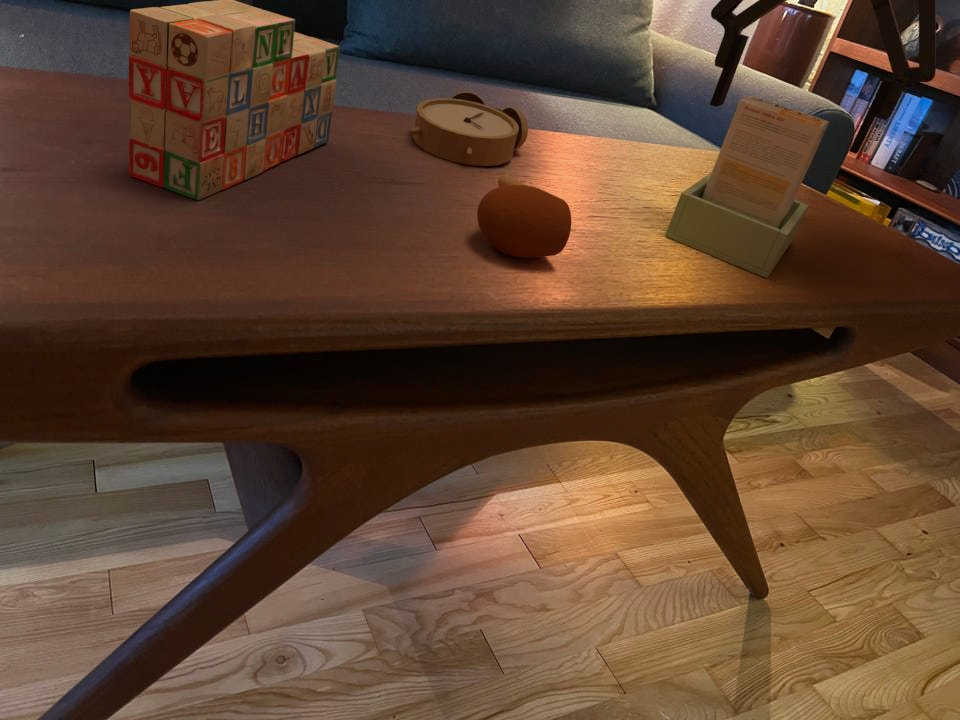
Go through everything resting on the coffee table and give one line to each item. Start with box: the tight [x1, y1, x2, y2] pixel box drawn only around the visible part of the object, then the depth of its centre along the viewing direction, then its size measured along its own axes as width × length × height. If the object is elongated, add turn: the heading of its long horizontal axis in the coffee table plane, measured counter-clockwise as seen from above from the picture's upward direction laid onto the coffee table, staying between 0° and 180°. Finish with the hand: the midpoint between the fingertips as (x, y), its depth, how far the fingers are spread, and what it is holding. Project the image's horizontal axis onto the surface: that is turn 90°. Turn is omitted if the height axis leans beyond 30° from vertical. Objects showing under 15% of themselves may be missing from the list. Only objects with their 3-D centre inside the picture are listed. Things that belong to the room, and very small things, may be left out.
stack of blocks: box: [127, 0, 341, 201], centre depth 65 cm, size 21×6×12 cm, turn 162°
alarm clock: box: [408, 91, 529, 167], centre depth 86 cm, size 11×5×15 cm
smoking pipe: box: [476, 173, 572, 259], centre depth 69 cm, size 7×18×6 cm, turn 7°
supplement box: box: [702, 95, 830, 229], centre depth 78 cm, size 8×5×13 cm, turn 59°
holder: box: [664, 171, 809, 279], centre depth 80 cm, size 11×14×5 cm
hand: (783, 127), depth 75 cm, fingers open, 13 cm apart
